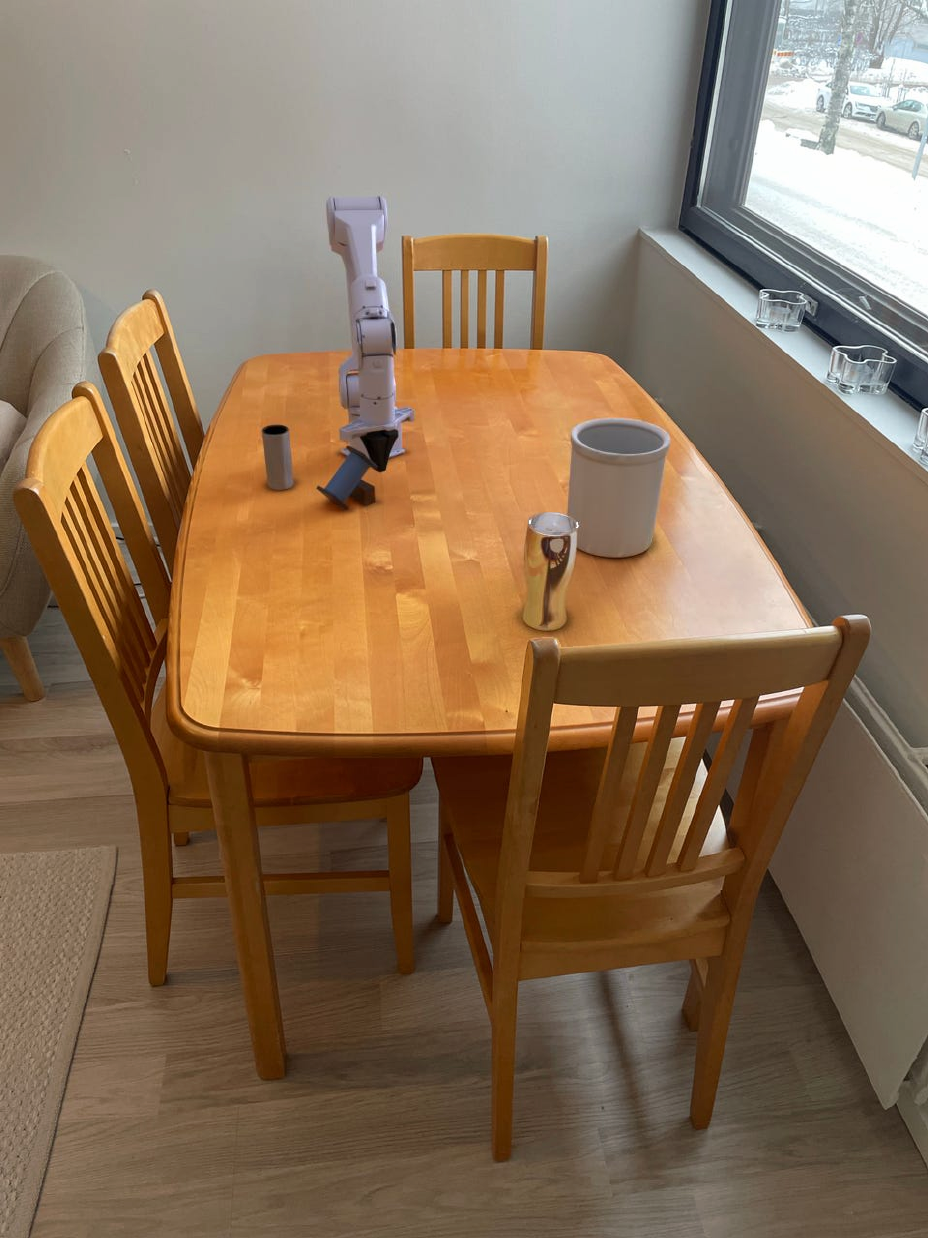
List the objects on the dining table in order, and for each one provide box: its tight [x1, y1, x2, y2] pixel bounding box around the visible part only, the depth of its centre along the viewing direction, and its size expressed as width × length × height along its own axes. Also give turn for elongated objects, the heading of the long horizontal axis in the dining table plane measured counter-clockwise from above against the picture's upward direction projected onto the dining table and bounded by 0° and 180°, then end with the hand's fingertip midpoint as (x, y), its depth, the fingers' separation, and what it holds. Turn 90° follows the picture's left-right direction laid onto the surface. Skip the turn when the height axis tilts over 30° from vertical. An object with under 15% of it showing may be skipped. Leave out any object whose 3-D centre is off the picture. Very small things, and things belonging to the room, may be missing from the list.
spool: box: [315, 444, 378, 511], centre depth 152 cm, size 10×4×9 cm, turn 133°
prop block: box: [348, 478, 376, 507], centre depth 155 cm, size 2×6×3 cm, turn 44°
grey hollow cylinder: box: [261, 424, 295, 491], centre depth 157 cm, size 4×4×10 cm
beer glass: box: [522, 511, 578, 632], centre depth 123 cm, size 7×7×15 cm
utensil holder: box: [566, 417, 671, 559], centre depth 142 cm, size 15×15×18 cm
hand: (379, 469), depth 157 cm, fingers closed
